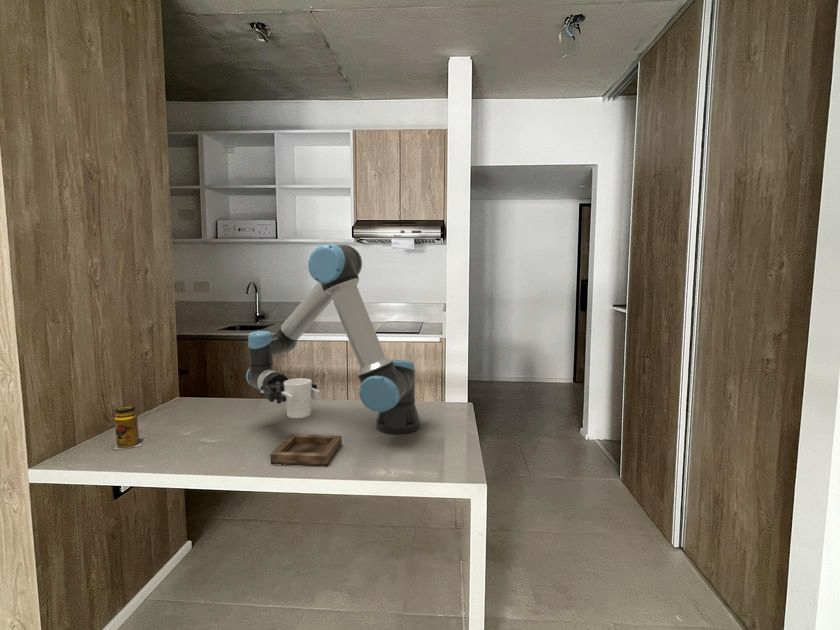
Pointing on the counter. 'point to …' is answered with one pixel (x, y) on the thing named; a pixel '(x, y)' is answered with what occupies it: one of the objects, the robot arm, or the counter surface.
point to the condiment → (127, 428)
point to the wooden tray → (306, 450)
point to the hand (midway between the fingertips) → (306, 398)
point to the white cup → (299, 397)
